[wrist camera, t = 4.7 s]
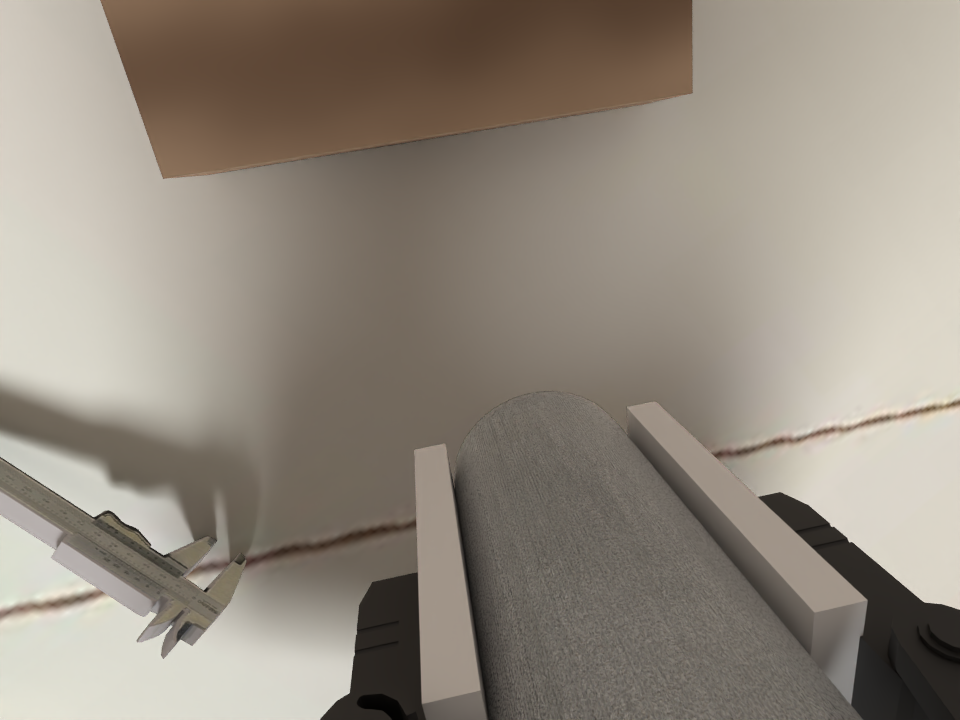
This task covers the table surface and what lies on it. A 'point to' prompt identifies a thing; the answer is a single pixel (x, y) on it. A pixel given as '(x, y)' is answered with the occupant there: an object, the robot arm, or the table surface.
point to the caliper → (121, 560)
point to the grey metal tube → (611, 584)
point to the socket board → (382, 70)
